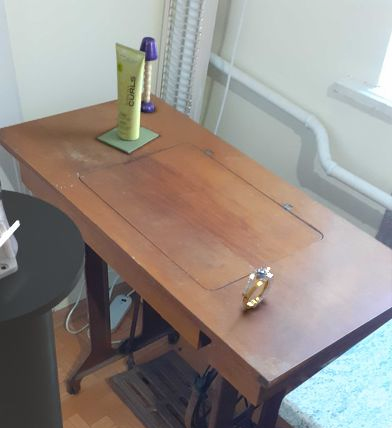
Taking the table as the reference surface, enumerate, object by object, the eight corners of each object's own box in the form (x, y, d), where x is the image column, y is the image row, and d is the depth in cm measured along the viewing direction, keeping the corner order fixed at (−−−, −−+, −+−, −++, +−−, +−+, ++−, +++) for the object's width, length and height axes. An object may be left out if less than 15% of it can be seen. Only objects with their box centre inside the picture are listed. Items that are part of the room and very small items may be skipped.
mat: (128, 153, 123) (128, 152, 122) (97, 139, 125) (97, 137, 125) (158, 135, 130) (158, 134, 130) (128, 122, 133) (128, 121, 132)
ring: (259, 293, 96) (270, 258, 91) (272, 303, 95) (284, 268, 89) (232, 308, 93) (240, 272, 87) (244, 319, 91) (254, 284, 86)
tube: (116, 141, 125) (117, 50, 110) (114, 130, 128) (115, 41, 114) (140, 141, 126) (145, 52, 112) (137, 131, 129) (142, 43, 115)
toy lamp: (152, 114, 137) (157, 43, 125) (134, 111, 137) (137, 40, 124) (155, 106, 140) (160, 36, 128) (137, 103, 140) (141, 33, 128)
